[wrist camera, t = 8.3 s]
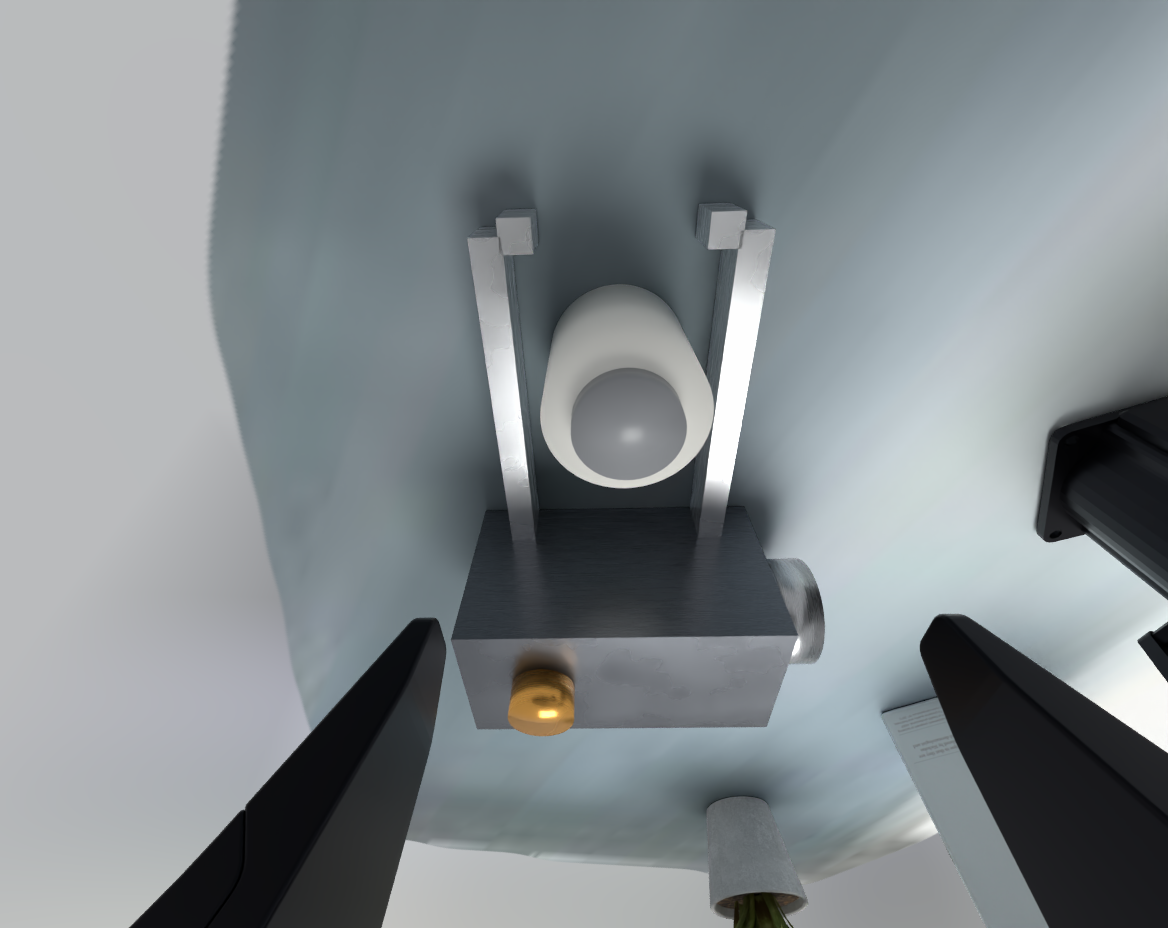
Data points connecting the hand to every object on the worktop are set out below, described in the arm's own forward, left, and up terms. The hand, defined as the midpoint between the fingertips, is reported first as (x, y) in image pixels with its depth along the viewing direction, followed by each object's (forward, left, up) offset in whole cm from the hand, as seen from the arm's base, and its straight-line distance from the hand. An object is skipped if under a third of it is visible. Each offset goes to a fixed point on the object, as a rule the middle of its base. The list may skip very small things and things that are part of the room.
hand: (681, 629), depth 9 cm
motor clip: (-4, +1, -12) cm, 12 cm away
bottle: (+1, 0, -12) cm, 12 cm away
